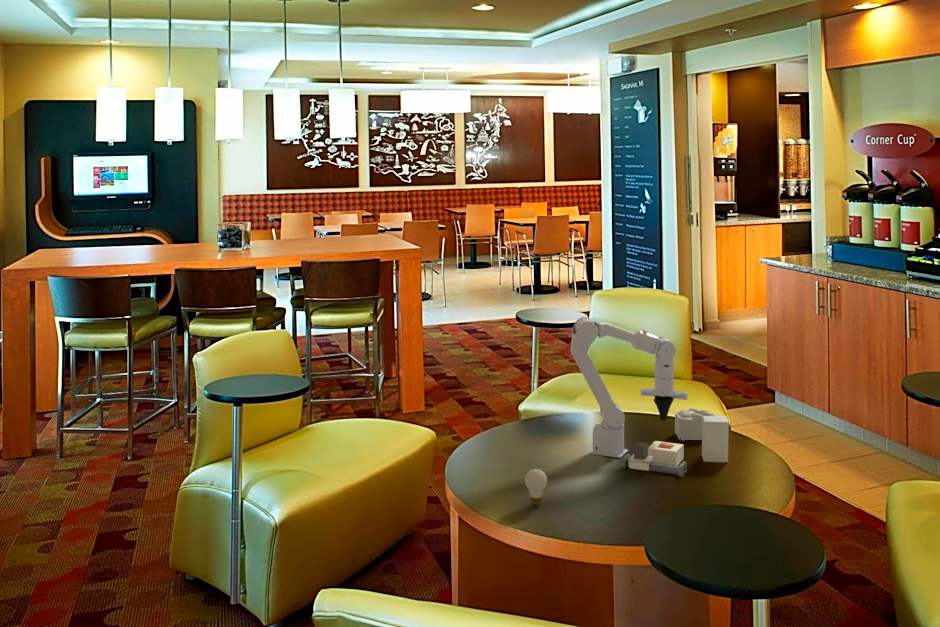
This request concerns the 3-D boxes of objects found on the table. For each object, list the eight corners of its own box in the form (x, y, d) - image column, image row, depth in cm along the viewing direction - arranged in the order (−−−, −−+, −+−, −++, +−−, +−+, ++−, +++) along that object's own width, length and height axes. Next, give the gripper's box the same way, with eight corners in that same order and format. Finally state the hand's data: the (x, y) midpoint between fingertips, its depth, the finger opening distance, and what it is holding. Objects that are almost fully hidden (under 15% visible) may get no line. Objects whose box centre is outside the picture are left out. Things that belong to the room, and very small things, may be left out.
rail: (622, 468, 261) (622, 458, 260) (627, 463, 265) (627, 453, 265) (681, 476, 252) (682, 466, 252) (686, 471, 257) (686, 461, 256)
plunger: (658, 460, 266) (658, 445, 266) (661, 457, 269) (661, 442, 269) (669, 462, 265) (669, 446, 264) (672, 458, 268) (672, 443, 267)
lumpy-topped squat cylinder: (673, 432, 297) (673, 407, 295) (711, 431, 296) (712, 406, 295) (679, 441, 287) (679, 415, 285) (719, 440, 286) (720, 414, 285)
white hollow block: (647, 462, 266) (647, 447, 265) (654, 454, 273) (655, 440, 272) (676, 466, 262) (676, 451, 261) (683, 458, 268) (683, 444, 268)
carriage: (628, 468, 260) (628, 445, 259) (633, 463, 264) (633, 441, 263) (648, 470, 257) (648, 447, 256) (653, 466, 261) (653, 443, 260)
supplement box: (728, 463, 264) (729, 422, 262) (702, 462, 265) (703, 421, 263) (726, 455, 271) (727, 415, 269) (701, 454, 272) (702, 415, 270)
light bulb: (532, 500, 237) (531, 464, 235) (551, 504, 233) (551, 468, 232) (521, 507, 232) (520, 470, 230) (540, 511, 229) (539, 474, 227)
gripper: (637, 378, 272) (637, 420, 274) (683, 382, 265) (683, 425, 267) (644, 373, 278) (644, 414, 280) (690, 377, 271) (689, 419, 273)
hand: (663, 419), depth 274 cm, fingers closed
